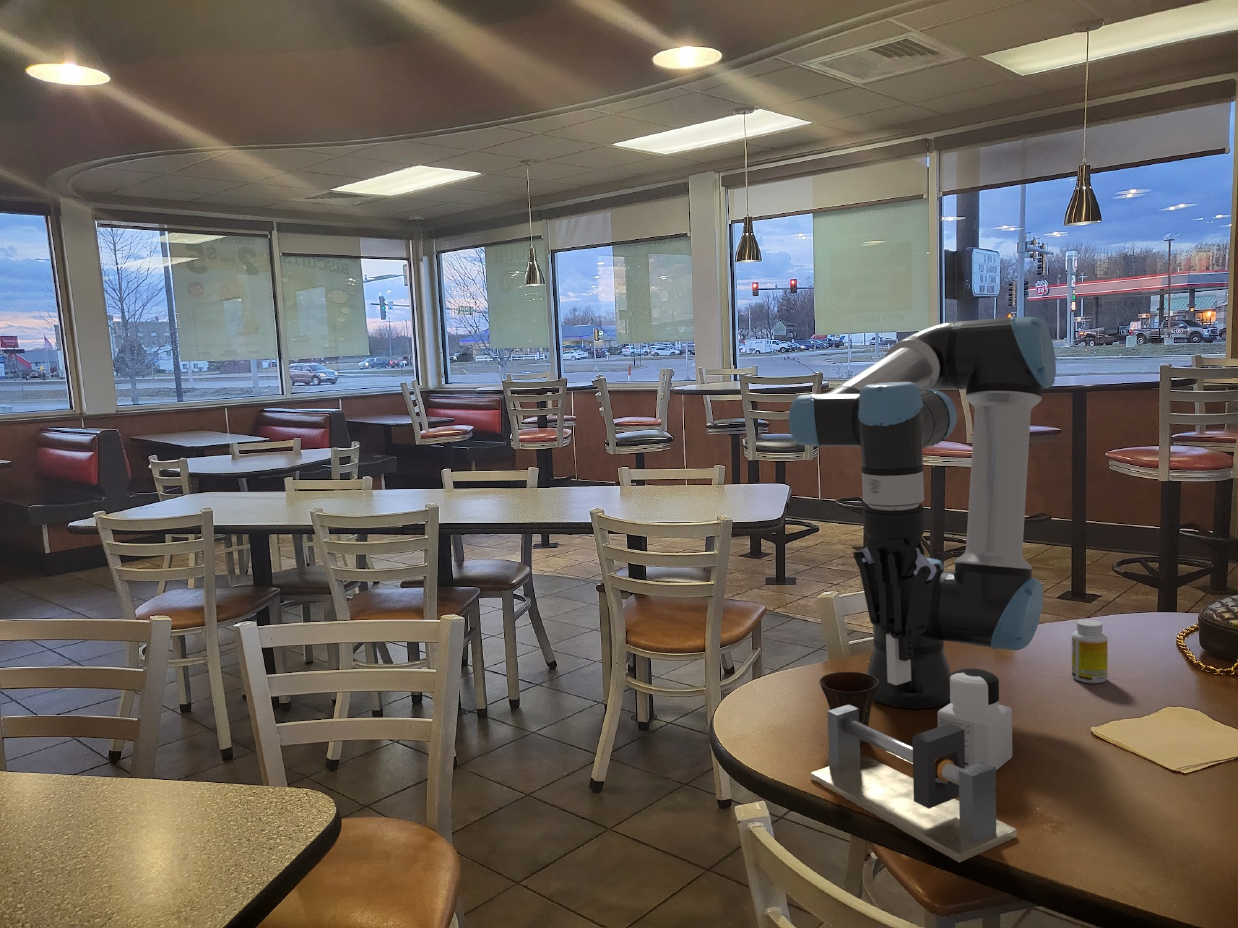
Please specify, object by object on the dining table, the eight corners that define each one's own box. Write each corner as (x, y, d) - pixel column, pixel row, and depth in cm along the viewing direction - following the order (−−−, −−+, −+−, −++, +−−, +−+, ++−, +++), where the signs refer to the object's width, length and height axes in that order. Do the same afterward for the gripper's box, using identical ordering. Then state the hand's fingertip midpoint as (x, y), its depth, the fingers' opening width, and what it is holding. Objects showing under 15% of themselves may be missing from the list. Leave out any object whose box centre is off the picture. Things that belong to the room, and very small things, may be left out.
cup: (813, 746, 138) (815, 680, 138) (822, 730, 147) (824, 668, 147) (874, 754, 135) (876, 686, 135) (879, 737, 144) (881, 674, 144)
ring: (913, 800, 115) (912, 735, 114) (950, 786, 118) (949, 723, 117) (928, 808, 112) (927, 742, 111) (965, 793, 116) (964, 729, 115)
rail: (810, 779, 129) (808, 714, 128) (863, 760, 134) (861, 698, 133) (959, 862, 107) (958, 784, 106) (1016, 836, 111) (1016, 762, 110)
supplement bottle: (1114, 682, 158) (1115, 624, 157) (1087, 686, 157) (1087, 628, 156) (1091, 671, 164) (1091, 616, 163) (1064, 675, 163) (1064, 620, 162)
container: (961, 743, 138) (960, 660, 136) (1013, 757, 132) (1012, 671, 131) (937, 761, 133) (935, 675, 131) (990, 776, 127) (989, 686, 126)
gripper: (835, 502, 121) (843, 673, 124) (911, 515, 109) (917, 703, 112) (877, 494, 124) (883, 661, 127) (954, 506, 113) (959, 688, 116)
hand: (899, 681), depth 120 cm, fingers closed
